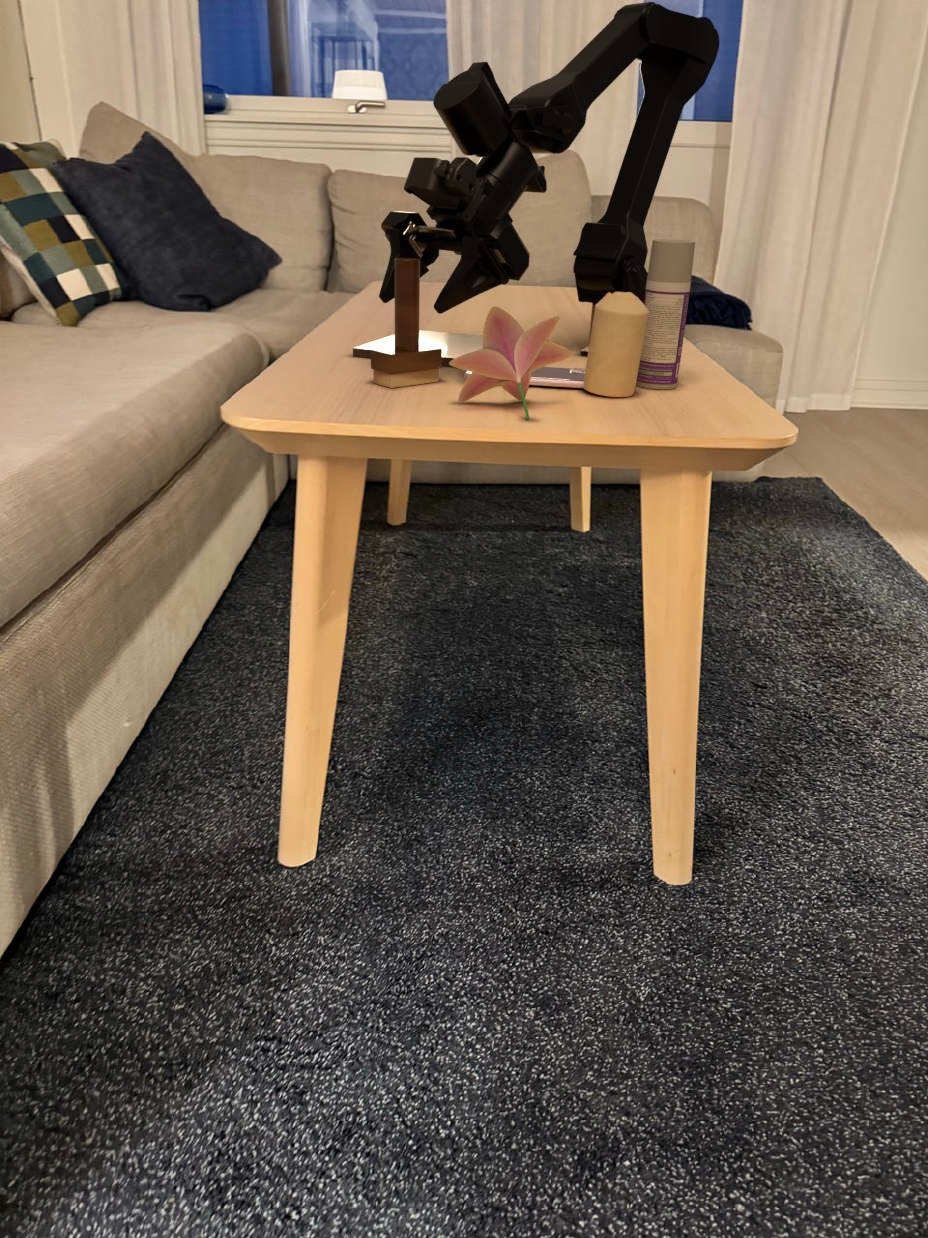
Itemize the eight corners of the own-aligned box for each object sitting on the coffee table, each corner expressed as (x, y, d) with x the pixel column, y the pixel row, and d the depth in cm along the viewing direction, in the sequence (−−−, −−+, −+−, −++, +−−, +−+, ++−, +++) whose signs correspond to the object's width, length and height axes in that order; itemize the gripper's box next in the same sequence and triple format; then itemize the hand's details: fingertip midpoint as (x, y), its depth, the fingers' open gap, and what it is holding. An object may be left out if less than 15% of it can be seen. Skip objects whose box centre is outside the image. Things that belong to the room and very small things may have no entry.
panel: (410, 336, 127) (410, 328, 126) (513, 346, 122) (513, 338, 122) (352, 356, 111) (352, 347, 111) (467, 368, 107) (467, 359, 107)
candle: (633, 400, 95) (650, 300, 90) (580, 393, 95) (595, 293, 90) (635, 387, 99) (652, 292, 94) (585, 381, 100) (599, 285, 95)
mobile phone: (471, 360, 105) (601, 367, 104) (471, 368, 106) (600, 376, 104) (462, 372, 99) (601, 380, 97) (462, 381, 99) (600, 390, 98)
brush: (370, 382, 98) (369, 258, 92) (421, 376, 102) (422, 256, 96) (390, 388, 95) (390, 261, 90) (441, 381, 100) (444, 259, 94)
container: (650, 379, 105) (667, 238, 98) (685, 386, 102) (705, 241, 95) (626, 383, 102) (642, 239, 95) (661, 391, 99) (680, 242, 92)
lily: (587, 416, 91) (564, 323, 91) (586, 393, 80) (560, 286, 80) (472, 448, 93) (450, 357, 93) (455, 429, 81) (429, 325, 81)
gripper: (395, 128, 97) (311, 240, 95) (517, 126, 85) (423, 255, 83) (448, 209, 106) (372, 314, 104) (566, 218, 93) (482, 337, 91)
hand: (408, 305), depth 95 cm, fingers open, 9 cm apart
